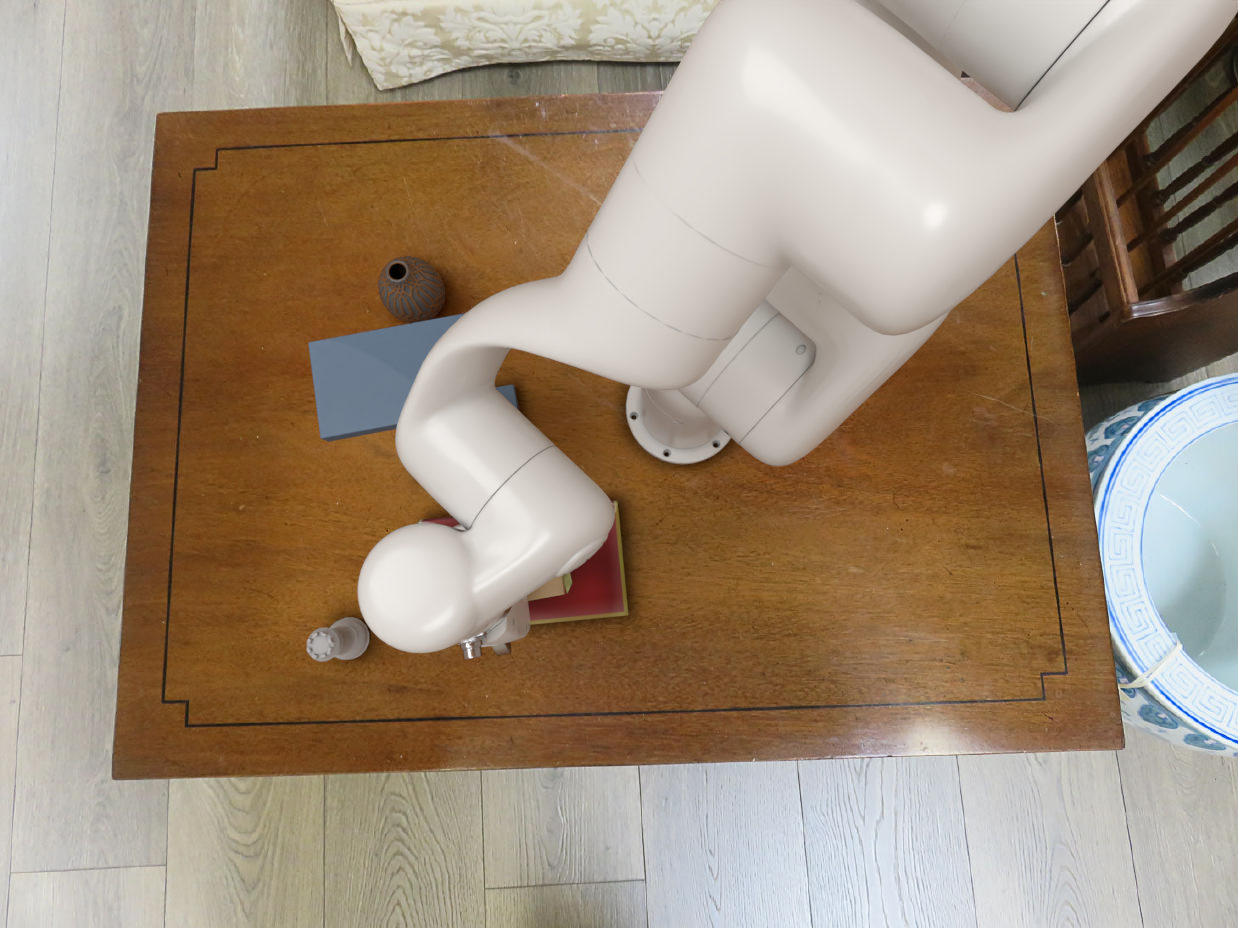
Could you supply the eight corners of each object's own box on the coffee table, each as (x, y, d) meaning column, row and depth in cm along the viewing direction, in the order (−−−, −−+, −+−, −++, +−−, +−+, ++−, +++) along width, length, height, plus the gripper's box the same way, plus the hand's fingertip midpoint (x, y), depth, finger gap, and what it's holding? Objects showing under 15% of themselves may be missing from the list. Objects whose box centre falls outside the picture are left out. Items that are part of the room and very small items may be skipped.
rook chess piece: (355, 667, 78) (324, 678, 70) (321, 644, 78) (286, 652, 70) (379, 631, 78) (351, 638, 70) (345, 608, 78) (313, 613, 71)
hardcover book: (428, 520, 80) (416, 517, 76) (618, 502, 80) (617, 498, 75) (434, 631, 78) (423, 634, 74) (628, 613, 78) (628, 615, 74)
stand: (524, 385, 82) (480, 310, 58) (535, 454, 81) (496, 405, 57) (401, 408, 82) (307, 342, 58) (411, 477, 80) (320, 438, 57)
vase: (449, 331, 83) (428, 303, 74) (389, 330, 83) (361, 302, 74) (452, 274, 84) (432, 239, 75) (393, 273, 84) (366, 239, 75)
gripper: (532, 688, 51) (558, 658, 70) (498, 467, 54) (531, 494, 72) (428, 707, 51) (480, 672, 69) (398, 484, 54) (457, 507, 72)
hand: (506, 581), depth 71 cm, fingers closed on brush, 2 cm apart
